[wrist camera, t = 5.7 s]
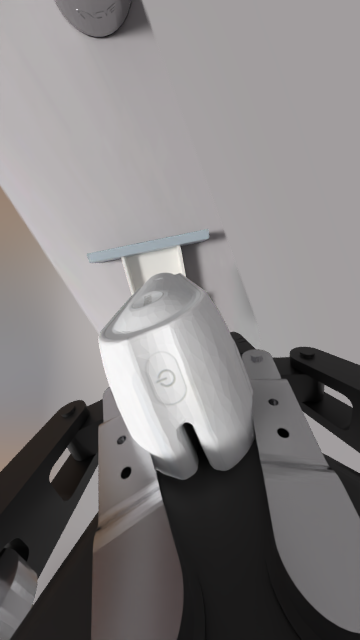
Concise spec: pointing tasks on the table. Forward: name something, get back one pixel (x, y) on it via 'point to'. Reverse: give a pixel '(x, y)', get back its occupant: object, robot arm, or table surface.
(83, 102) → the table surface
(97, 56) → the table surface
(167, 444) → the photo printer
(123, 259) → the tray
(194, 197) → the table surface
